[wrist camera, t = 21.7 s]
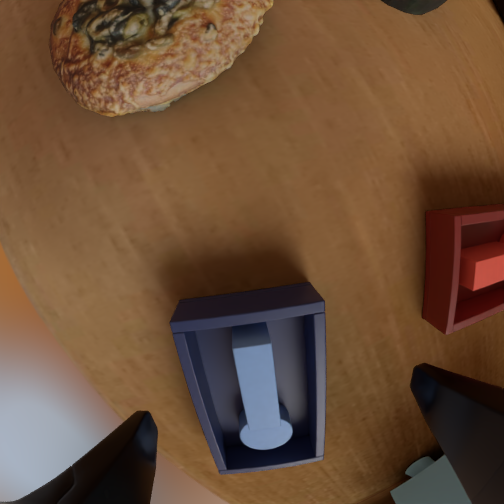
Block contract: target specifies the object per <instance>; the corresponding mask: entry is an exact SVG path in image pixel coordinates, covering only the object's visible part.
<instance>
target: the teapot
mask: <svg viewBox="0 0 504 504" xmlns="http://www.w3.org/2000/svg"><path fill="white" fill-rule="evenodd" d="M405 473H406V474H407V475H409V476H411V477H413V478H411V479H409V480H408V481H406V482H405V483H403V484H402V485H400V486H398V487H397V488H395V489H393V490H392V491H390V493H391V495H392V497H393V499H394V501H395V503H396V504H471V501H470V500H469V498H468V496H467V494H466V492H465V490H464V488H463V486H462V484H461V482H460V481H459V479H458V477H457V475H456V473H455V471H454V470H453V468H452V466H451V464H450V462H449V461H448V459H447V457H446V455H443V456H442V457H441V458H439V459H438V460H437V461H434V460H433V459H431V458H430V457H429V456H427V457H423V458H421V459H419V460H417V461H416V462H414V463H413V464H412V465H411V466H410V467H409V468H408V469H407V470H406V472H405Z"/></svg>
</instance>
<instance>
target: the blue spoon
mask: <svg viewBox="0 0 504 504" xmlns="http://www.w3.org/2000/svg"><path fill="white" fill-rule="evenodd" d="M232 351H233V356H234V361H235V366H236V371H237V376H238V381H239V386H240V391H241V395H242V400H243V405H244V409H243V410H242V412H241V413H240V415H239V435H240V439H241V441H242V442H243V443H244V444H245V445H246V446H248V447H250V448H253V449H259V450H267V449H273V448H276V447H279V446H281V445H283V444H285V443H286V442H287V441H288V440H289V439H290V438H291V436H292V433H293V428H292V424H291V420H290V416H289V412H288V410H287V409H286V407H285V406H283V405H282V404H280V403H278V394H277V385H276V377H275V368H274V360H273V352H272V343H271V339H270V335H269V331H268V327H267V323H266V322H259V323H252V324H245V325H238V326H232Z"/></svg>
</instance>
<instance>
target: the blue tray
mask: <svg viewBox="0 0 504 504" xmlns="http://www.w3.org/2000/svg"><path fill="white" fill-rule="evenodd" d="M324 311H325V301H324V299H323V298H322V297H321V296H320V294H319V293H318V292H317V291H316V290H315V288H314V287H313V286H312V285H311V283H310V282H305V283H299V284H293V285H286V286H280V287H273V288H266V289H259V290H253V291H245V292H238V293H231V294H224V295H216V296H208V297H200V298H192V299H184V300H179V303H178V305H177V307H176V309H175V311H174V314H173V316H172V318H171V320H170V326H171V330H172V333H173V338H174V341H175V345H176V349H177V352H178V356H179V359H180V363H181V366H182V369H183V373H184V376H185V379H186V382H187V386H188V389H189V392H190V395H191V398H192V401H193V404H194V407H195V410H196V413H197V416H198V418H199V421H200V424H201V427H202V430H203V432H204V435H205V438H206V440H207V443H208V445H209V448H210V451H211V453H212V456H213V458H214V461H215V463H216V466H217V468H218V470H219V473H220V474H235V473H247V472H256V471H264V470H272V469H278V468H285V467H291V466H296V465H301V464H306V463H311V462H316V461H320V460H323V459H324V444H325V420H326V324H325V312H324ZM259 322H266V323H267V327H268V331H269V335H270V339H271V343H272V352H273V360H274V368H275V377H276V385H277V394H278V403H280V404H282V405H283V406H285V407H286V409H287V410H288V412H289V416H290V420H291V424H292V428H293V433H292V436H291V438H290V439H289V440H288V441H287V442H286V443H285V444H283V445H281V446H279V447H276V448H273V449H267V450H259V449H253V448H250V447H248V446H246V445H245V444H244V443H243V442H242V441H241V439H240V435H239V415H240V413H241V412H242V410H243V409H244V405H243V400H242V395H241V391H240V386H239V381H238V376H237V371H236V366H235V361H234V356H233V351H232V326H238V325H245V324H252V323H259Z"/></svg>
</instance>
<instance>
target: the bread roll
mask: <svg viewBox="0 0 504 504" xmlns="http://www.w3.org/2000/svg"><path fill="white" fill-rule="evenodd" d="M272 6H273V0H63V2H62V3H61V4H60V6H59V8H58V11H57V13H56V15H55V17H54V20H53V21H52V24H51V34H50V41H49V47H50V52H51V57H52V62H53V67H54V70H55V72H56V73H57V75H58V77H59V79H60V81H61V82H62V84H63V86H64V88H65V89H66V91H67V92H68V93H69V94H70V95H71V97H72V98H73V99H75V101H76V103H78V104H79V105H80V106H82V107H83V108H86V109H88V110H91V111H94V112H97V113H99V114H101V115H105V116H110V117H114V116H116V115H120V116H121V115H125V114H127V113H131V114H132V113H135V112H136V111H138V112H139V111H144V112H146V111H152V112H156V111H163V110H165V109H166V108H167V107H169V106H170V103H171V102H172V101H174V102H175V101H177V100H179V99H180V98H181V97H182V96H183V95H186V94H187V93H189V92H192V91H194V90H195V89H197V88H199V87H200V86H202V85H204V84H206V83H208V82H211V81H212V80H214V79H215V78H217V77H218V75H219V74H220V73H222V72H223V71H224V70H226V69H229V68H231V67H230V66H231V65H232V64H233V63H234V61H235V60H236V58H237V57H238V56H239V55H240V54H242V53H243V52H244V51H245V49H246V47H247V46H248V45H249V44H250V43H251V42H252V39H253V36H256V35H257V34H258V32H259V29H260V25H262V23H263V15H264V14H265V12H266V11H267V10H268V9H269V8H271V7H272Z"/></svg>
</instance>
